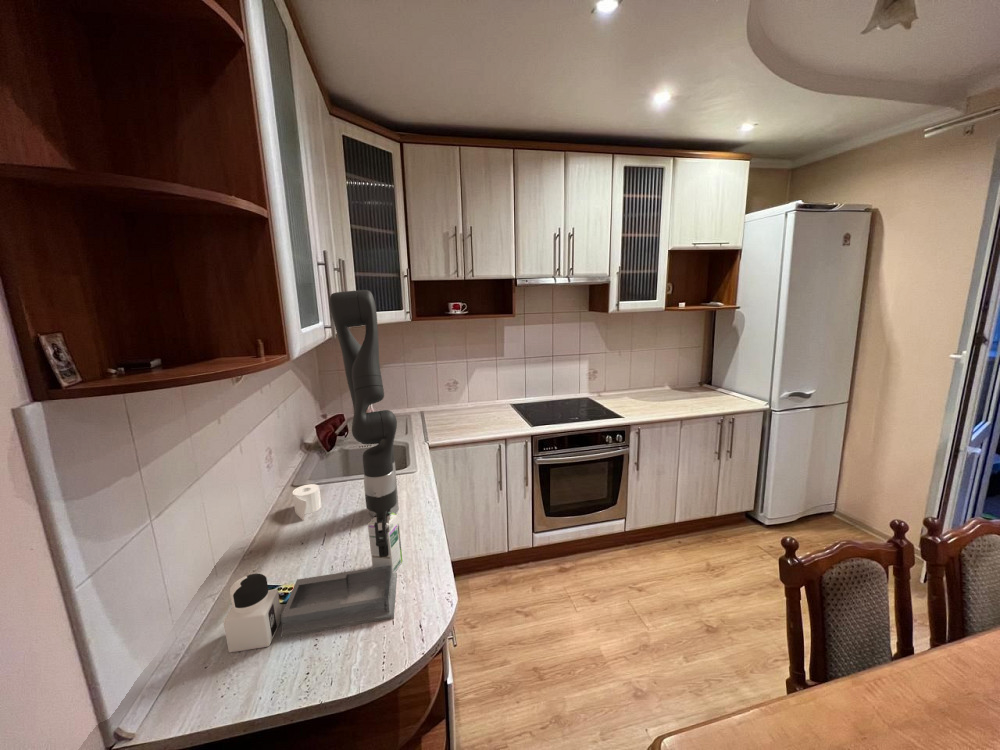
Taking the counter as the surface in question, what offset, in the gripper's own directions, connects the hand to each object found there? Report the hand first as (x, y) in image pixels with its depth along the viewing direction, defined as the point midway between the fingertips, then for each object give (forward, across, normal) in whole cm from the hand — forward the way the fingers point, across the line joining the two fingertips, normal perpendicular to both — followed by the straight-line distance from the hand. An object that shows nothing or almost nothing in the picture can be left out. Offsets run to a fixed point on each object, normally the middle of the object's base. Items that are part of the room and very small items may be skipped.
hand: (385, 546), depth 105 cm
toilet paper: (+6, -37, -29) cm, 47 cm away
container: (+7, +16, -26) cm, 31 cm away
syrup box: (+7, 0, 0) cm, 7 cm away
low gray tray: (+6, +11, -9) cm, 15 cm away
